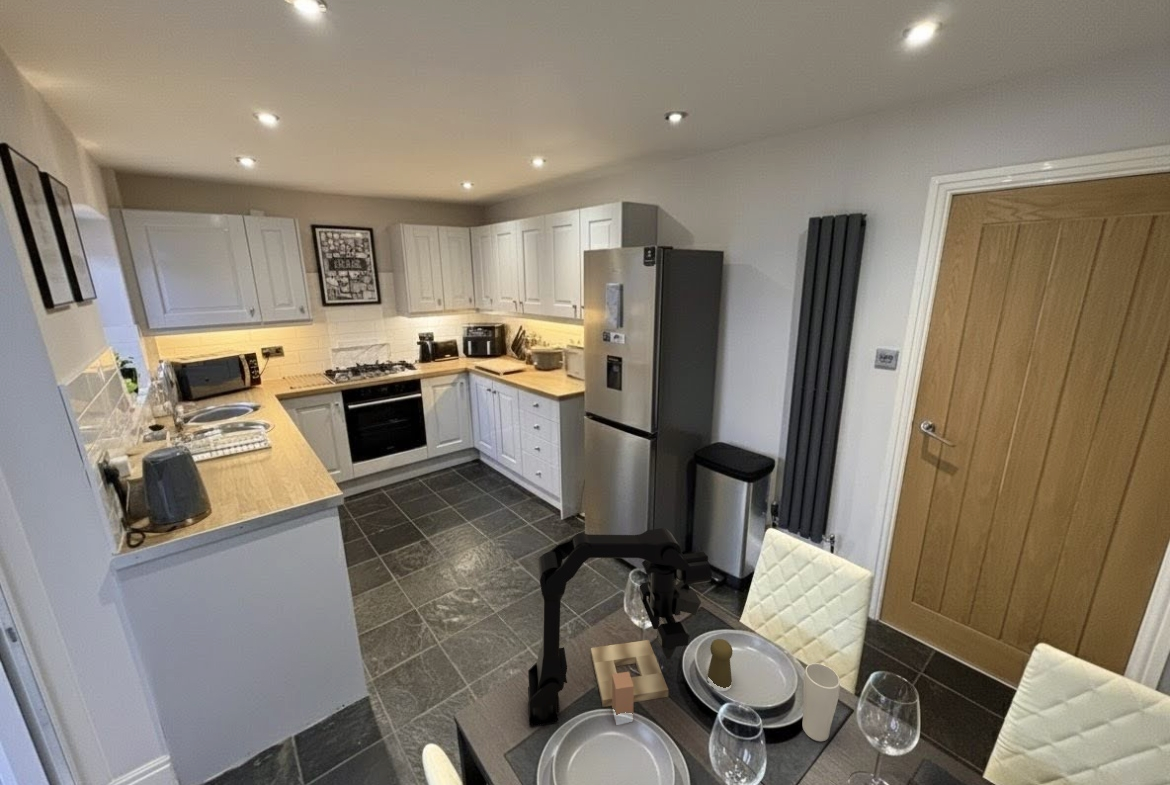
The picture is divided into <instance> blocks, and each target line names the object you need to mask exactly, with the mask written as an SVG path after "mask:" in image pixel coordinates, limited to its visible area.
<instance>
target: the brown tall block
mask: <svg viewBox="0 0 1170 785" xmlns="http://www.w3.org/2000/svg"><path fill="white" fill-rule="evenodd" d="M633 700H634V686H633V682H632V679H631V674H630V671H624V672H623V671H622V672H617V673H616V674H612V706H611V709H612V708H613V709H614V710H615V712H616V715H618V714H620V713H625V712H626V713H632V714H633V715H634V702H633Z"/></svg>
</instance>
